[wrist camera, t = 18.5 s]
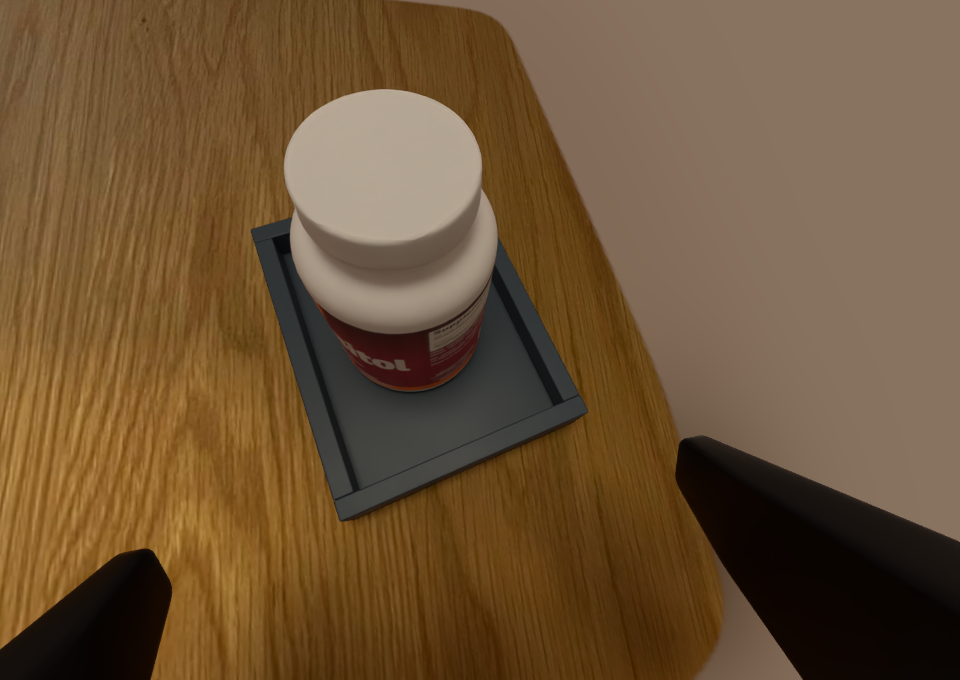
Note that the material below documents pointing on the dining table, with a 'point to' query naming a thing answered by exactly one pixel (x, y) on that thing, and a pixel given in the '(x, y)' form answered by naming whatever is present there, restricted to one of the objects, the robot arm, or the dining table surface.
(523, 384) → the dish
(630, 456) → the dining table surface
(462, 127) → the pill bottle
